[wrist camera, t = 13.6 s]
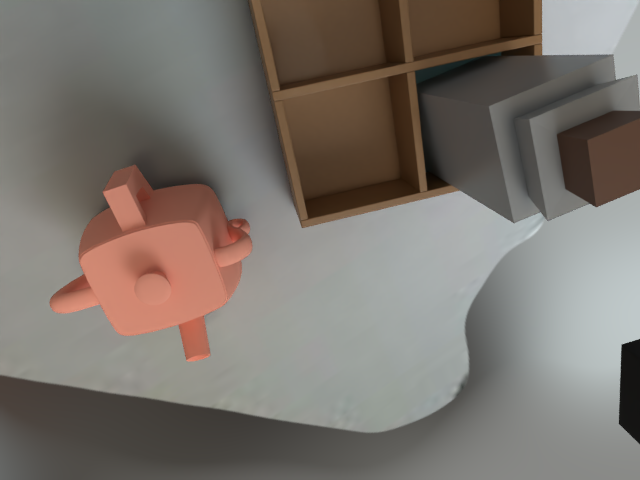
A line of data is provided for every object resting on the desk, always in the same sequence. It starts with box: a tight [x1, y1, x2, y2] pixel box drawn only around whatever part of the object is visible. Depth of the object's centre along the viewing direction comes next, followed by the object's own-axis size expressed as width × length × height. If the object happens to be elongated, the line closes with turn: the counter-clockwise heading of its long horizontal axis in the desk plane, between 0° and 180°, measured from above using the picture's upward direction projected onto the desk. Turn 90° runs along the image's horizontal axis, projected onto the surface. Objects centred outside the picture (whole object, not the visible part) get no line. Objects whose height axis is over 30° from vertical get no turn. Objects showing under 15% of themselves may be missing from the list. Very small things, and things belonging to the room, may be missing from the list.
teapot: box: [50, 165, 252, 361], centre depth 33 cm, size 12×12×10 cm
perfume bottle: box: [416, 55, 640, 223], centre depth 29 cm, size 7×7×18 cm
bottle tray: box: [248, 0, 542, 228], centre depth 33 cm, size 19×19×5 cm
